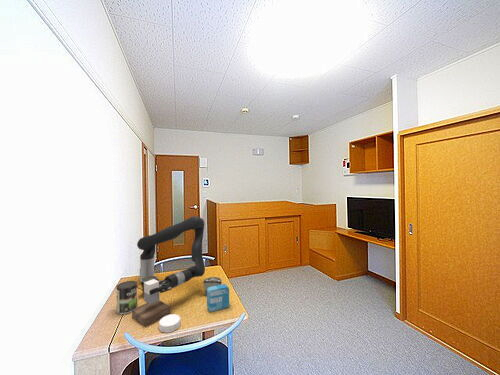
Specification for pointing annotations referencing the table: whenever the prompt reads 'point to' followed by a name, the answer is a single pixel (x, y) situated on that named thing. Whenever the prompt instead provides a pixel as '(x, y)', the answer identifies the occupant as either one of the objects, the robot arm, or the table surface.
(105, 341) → the table surface
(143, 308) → the walnut stand
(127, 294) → the coffee can
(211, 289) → the data package
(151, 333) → the table surface
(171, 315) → the coaster
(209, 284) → the food container
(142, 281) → the ceramic cup
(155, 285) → the block
